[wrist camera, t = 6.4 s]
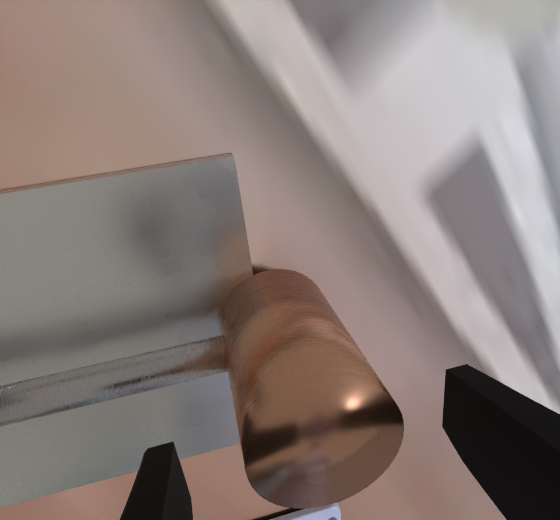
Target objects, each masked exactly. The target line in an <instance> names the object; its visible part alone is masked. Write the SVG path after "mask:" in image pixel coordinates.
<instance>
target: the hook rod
mask: <svg viewBox="0 0 560 520" xmlns="http://www.w3.org/2000/svg"><path fill="white" fill-rule="evenodd" d="M219 325H220V332H221V336H217V337H213V338H208V339H204V340H199V341H195V342H191V343H186V344H182V345H178V346H173V347H169V348H164V349H160V350H156V351H151V352H147V353H142V354H138V355H134V356H129V357H125V358H120V359H116V360H112V361H107V362H103V363H98V364H94V365H90V366H85V367H81V368H77V369H72V370H68V371H63V372H59V373H55V374H50V375H46V376H41V377H37V378H33V379H28V380H24V381H19V382H15V383H11V384H6V385H2V386H0V427H1V426H5V425H9V424H14V423H18V422H22V421H26V420H30V419H34V418H38V417H43V416H47V415H51V414H55V413H59V412H63V411H67V410H71V409H76V408H80V407H84V406H88V405H92V404H96V403H100V402H105V401H109V400H113V399H117V398H121V397H125V396H129V395H133V394H138V393H142V392H146V391H150V390H154V389H158V388H162V387H167V386H171V385H175V384H179V383H183V382H187V381H191V380H196V379H200V378H204V377H208V376H212V375H216V374H220V373H224V372H228V376H229V382H230V387H231V393H232V398H233V404H234V409H235V415H236V420H237V426H238V431H239V437H240V442H241V448H242V453H243V459H244V464H245V470H246V474H247V477H248V480H249V482H250V484H251V486H252V487H253V489H254V490H255V491H256V492H257V493H258V494H259V495H260V496H261V497H263V498H264V499H266V500H268V501H269V502H272V503H274V504H276V505H280V506H283V507H289V508H302V509H305V508H316V507H322V506H326V505H330V504H333V503H336V502H339V501H342V500H344V499H346V498H349V497H351V496H353V495H355V494H356V493H358V492H360V491H362V490H363V489H365V488H366V487H368V486H369V485H370V484H371V483H373V482H374V481H375V480H376V479H377V478H378V477H380V476H381V475H382V474H383V473H384V471H385V470H386V469H387V468H388V467H389V465H390V464H391V463H392V461H393V460H394V458H395V456H396V454H397V453H398V451H399V448H400V446H401V443H402V439H403V432H404V424H403V418H402V414H401V412H400V410H399V407H398V406H397V404H396V403H395V401H394V400H393V398H392V397H391V395H390V394H389V392H388V391H387V389H386V388H385V386H384V385H383V383H382V382H381V380H380V379H379V377H378V376H377V374H376V373H375V371H374V370H373V368H372V367H371V365H370V364H369V362H368V361H367V359H366V358H365V356H364V355H363V353H362V352H361V350H360V349H359V347H358V346H357V345H356V343H355V342H354V340H353V339H352V337H351V336H350V334H349V333H348V331H347V330H346V328H345V327H344V325H343V324H342V322H341V321H340V319H339V318H338V316H337V315H336V313H335V312H334V310H333V309H332V307H331V306H330V304H329V303H328V301H327V300H326V298H325V297H324V295H323V294H322V292H321V291H320V289H319V288H318V286H317V285H316V284H315V283H314V282H313V281H312V280H311V279H309V278H308V277H307V276H305V275H303V274H301V273H298V272H296V271H291V270H285V269H273V270H267V271H263V272H259V273H257V274H254V275H252V276H250V277H248V278H247V279H245V280H244V281H242V282H241V283H239V284H238V285H237V286H236V287H235V288H234V289H233V290H232V291H231V293H230V294H229V295H228V297H227V298H226V300H225V302H224V304H223V306H222V309H221V313H220V322H219Z"/></svg>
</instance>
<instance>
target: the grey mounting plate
mask: <svg viewBox="0 0 560 520" xmlns="http://www.w3.org/2000/svg"><path fill="white" fill-rule="evenodd" d="M252 275H253V271H252V265H251V259H250V253H249V246H248V240H247V234H246V228H245V221H244V215H243V209H242V203H241V196H240V190H239V184H238V178H237V171H236V165H235V159H234V155H233V154H232V153H228V154H222V155H216V156H210V157H203V158H197V159H191V160H185V161H179V162H172V163H166V164H160V165H154V166H147V167H141V168H135V169H129V170H123V171H116V172H110V173H104V174H98V175H91V176H85V177H79V178H73V179H67V180H60V181H54V182H48V183H42V184H35V185H29V186H23V187H17V188H11V189H4V190H0V386H2V385H6V384H11V383H15V382H19V381H24V380H28V379H33V378H37V377H41V376H46V375H50V374H55V373H59V372H63V371H68V370H72V369H77V368H81V367H85V366H90V365H94V364H98V363H103V362H107V361H112V360H116V359H120V358H125V357H129V356H134V355H138V354H142V353H147V352H151V351H156V350H160V349H164V348H169V347H173V346H178V345H182V344H186V343H191V342H195V341H199V340H204V339H208V338H213V337H217V336H221V332H220V325H219V322H220V313H221V309H222V306H223V304H224V302H225V300H226V298H227V297H228V295H229V294H230V293H231V291H232V290H233V289H234V288H235V287H236V286H237V285H238V284H239V283H241V282H242V281H244V280H245V279H247V278H248V277H250V276H252ZM173 441H174V445H175V448H176V451H177V454H178V458H179V459H182V458H186V457H190V456H194V455H197V454H201V453H205V452H208V451H212V450H216V449H220V448H223V447H227V446H231V445H234V444H238V443H241V442H240V437H239V431H238V426H237V420H236V415H235V409H234V404H233V398H232V393H231V387H230V382H229V376H228V372H224V373H220V374H216V375H212V376H208V377H204V378H200V379H196V380H191V381H187V382H183V383H179V384H175V385H171V386H167V387H162V388H158V389H154V390H150V391H146V392H142V393H138V394H133V395H129V396H125V397H121V398H117V399H113V400H109V401H105V402H100V403H96V404H92V405H88V406H84V407H80V408H76V409H71V410H67V411H63V412H59V413H55V414H51V415H47V416H43V417H38V418H34V419H30V420H26V421H22V422H18V423H14V424H9V425H5V426H1V427H0V508H1V507H4V506H8V505H12V504H16V503H19V502H23V501H27V500H30V499H34V498H38V497H42V496H45V495H49V494H53V493H56V492H60V491H64V490H68V489H71V488H75V487H79V486H82V485H86V484H90V483H93V482H97V481H101V480H105V479H108V478H112V477H116V476H119V475H123V474H127V473H131V472H134V471H138V470H139V467H140V464H141V461H142V458H143V455H144V452H145V451H146V450H147V449H148V448H150V447H154V446H158V445H162V444H166V443H169V442H173Z"/></svg>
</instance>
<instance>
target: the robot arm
mask: <svg viewBox="0 0 560 520" xmlns="http://www.w3.org/2000/svg"><path fill="white" fill-rule="evenodd" d="M442 427H443V428H444V430H445V432H446V434H447V435H448V437H449V439H450V441H451V442H452V444H453V446H454V448H455V449H456V451H457V452H458V454H459V456H460V457H461V459H462V461H463V462H464V464H465V465H466V466H467V468H468V469H469V470H470V472H471V473H472V475H473V476H474V477H475V479H476V480H477V481H478V482H479V484H480V485H481V486H482V488H483V489H484V490H485V492H486V493H487V494H488V496H489V497H490V498H491V500H492V501H493V502H494V504H495V505H496V506H497V508H498V509H499V510H500V511H501V513H502V514H503V515H504V517H505V518H506V519H507V520H560V414H558V413H556V412H554V411H552V410H550V409H548V408H546V407H545V406H543V405H541V404H539V403H537V402H535V401H533V400H531V399H530V398H528V397H526V396H524V395H522V394H520V393H519V392H517V391H515V390H513V389H511V388H510V387H508V386H506V385H504V384H502V383H500V382H499V381H497V380H495V379H493V378H491V377H490V376H488V375H486V374H484V373H482V372H480V371H479V370H477V369H475V368H473V367H471V366H469V365H467V364H466V365H462V366H458V367H454V368H450V369H447V370H446V376H445V392H444V408H443V424H442ZM120 520H193V514H192V503H191V496H190V493H189V490H188V487H187V483H186V480H185V477H184V474H183V471H182V467H181V464H180V461H179V458H178V454H177V451H176V448H175V445H174V441H173V442H169V443H166V444H162V445H158V446H154V447H150V448H148V449H147V450H146V451H145V452H144V455H143V458H142V461H141V464H140V467H139V470H138V473H137V476H136V479H135V482H134V485H133V487H132V490H131V493H130V495H129V498H128V500H127V503H126V506H125V508H124V511H123V513H122V515H121V518H120ZM269 520H341V514H340V509H339V506H338V504H337V503H333V504H330V505H326V506H322V507H316V508H306V509H302V510H299V511H296V512H292V513H289V514H286V515H282V516H279V517H276V518H272V519H269Z"/></svg>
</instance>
